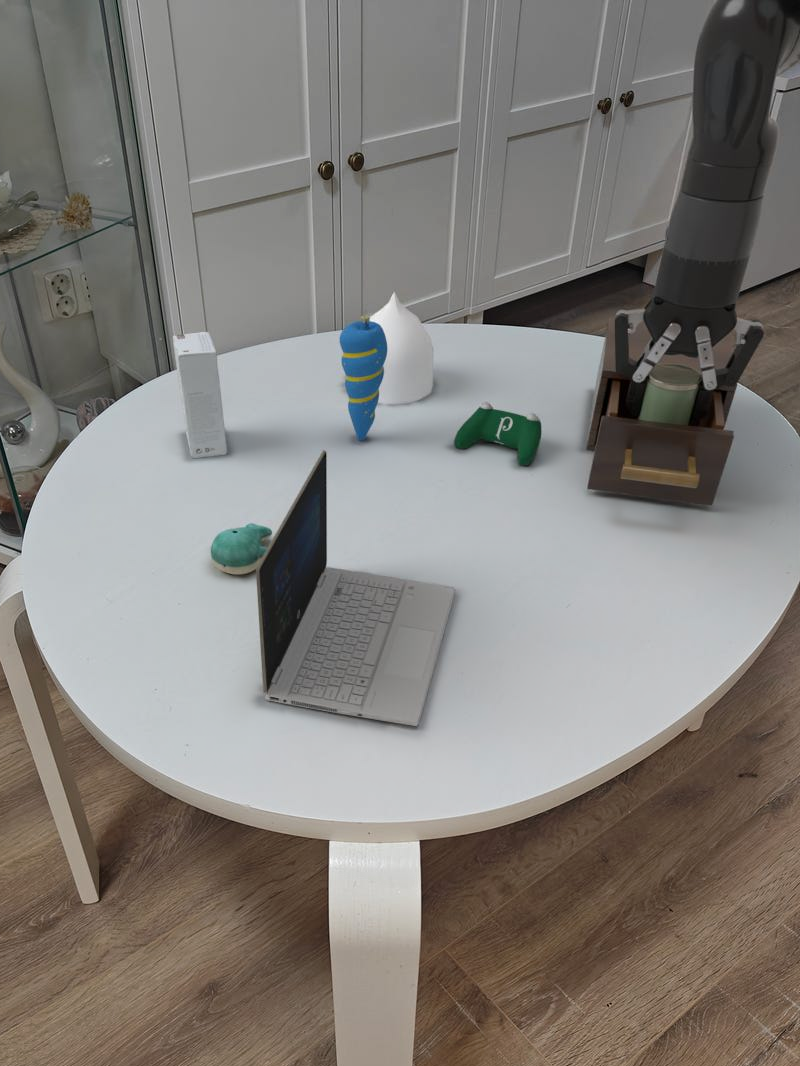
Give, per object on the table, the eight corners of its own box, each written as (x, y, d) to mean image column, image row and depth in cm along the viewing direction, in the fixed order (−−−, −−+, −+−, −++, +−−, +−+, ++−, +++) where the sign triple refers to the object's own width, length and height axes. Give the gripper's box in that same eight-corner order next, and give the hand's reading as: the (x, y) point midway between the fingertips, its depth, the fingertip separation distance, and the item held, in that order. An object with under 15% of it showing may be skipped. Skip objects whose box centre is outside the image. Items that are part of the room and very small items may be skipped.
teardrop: (367, 362, 122) (370, 270, 114) (445, 376, 118) (453, 283, 110) (332, 394, 114) (332, 299, 106) (414, 411, 110) (420, 313, 103)
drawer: (713, 531, 88) (737, 460, 83) (583, 513, 91) (598, 443, 86) (707, 440, 102) (726, 374, 97) (595, 426, 105) (608, 362, 100)
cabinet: (712, 467, 100) (737, 384, 93) (585, 451, 103) (602, 370, 96) (707, 405, 111) (729, 328, 105) (593, 392, 114) (609, 317, 108)
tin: (689, 411, 95) (702, 366, 92) (690, 435, 91) (703, 388, 88) (636, 405, 96) (646, 360, 93) (635, 428, 92) (646, 382, 89)
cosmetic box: (228, 455, 102) (220, 351, 95) (189, 460, 102) (177, 356, 94) (221, 430, 107) (212, 329, 99) (183, 434, 106) (171, 333, 98)
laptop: (417, 732, 69) (429, 597, 61) (262, 701, 72) (253, 568, 63) (455, 593, 82) (469, 467, 74) (322, 572, 85) (322, 447, 77)
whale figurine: (198, 570, 86) (194, 536, 83) (237, 531, 91) (234, 498, 88) (251, 586, 84) (249, 552, 81) (288, 545, 89) (287, 512, 86)
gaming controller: (533, 474, 102) (552, 425, 102) (527, 463, 99) (547, 412, 99) (458, 454, 106) (476, 407, 106) (450, 443, 102) (469, 393, 102)
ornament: (334, 447, 104) (335, 317, 94) (344, 427, 107) (345, 300, 98) (378, 452, 103) (384, 322, 93) (387, 431, 106) (393, 304, 97)
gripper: (624, 251, 81) (590, 424, 92) (796, 264, 78) (739, 442, 89) (627, 227, 87) (594, 393, 98) (788, 238, 84) (735, 409, 95)
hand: (664, 415), depth 93 cm, fingers closed on tin, 5 cm apart
